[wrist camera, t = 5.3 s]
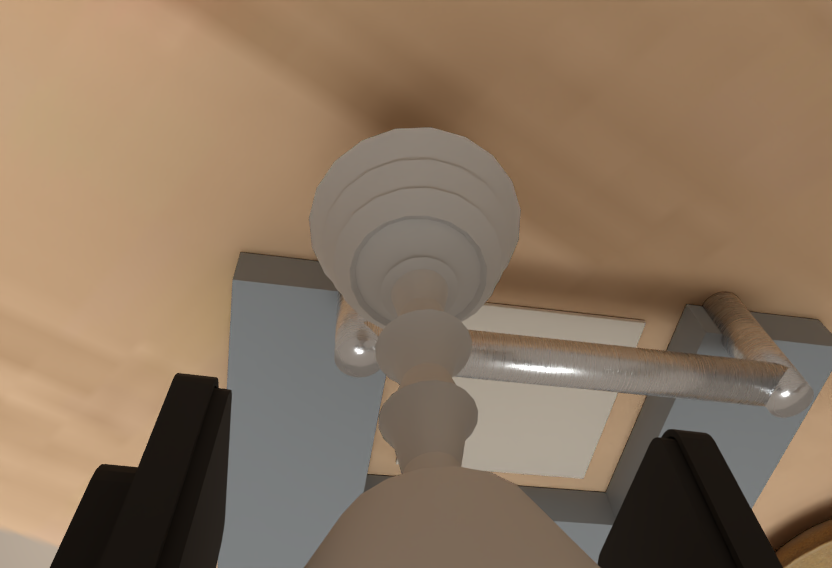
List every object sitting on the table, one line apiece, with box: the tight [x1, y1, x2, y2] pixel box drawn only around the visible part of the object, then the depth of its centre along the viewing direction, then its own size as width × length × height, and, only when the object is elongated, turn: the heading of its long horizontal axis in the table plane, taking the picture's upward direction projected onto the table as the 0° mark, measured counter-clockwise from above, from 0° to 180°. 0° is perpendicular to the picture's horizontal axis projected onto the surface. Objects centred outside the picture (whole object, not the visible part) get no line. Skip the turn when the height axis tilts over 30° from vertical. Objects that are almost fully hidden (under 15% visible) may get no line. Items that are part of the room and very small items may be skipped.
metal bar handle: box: [334, 291, 814, 418], centre depth 27 cm, size 17×2×6 cm, turn 80°
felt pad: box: [396, 303, 646, 479], centre depth 32 cm, size 9×9×1 cm
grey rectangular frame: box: [218, 252, 832, 568], centre depth 33 cm, size 24×18×2 cm
